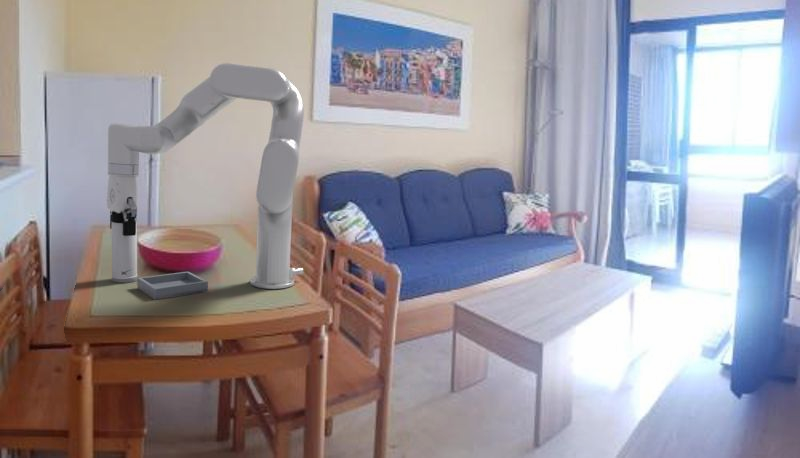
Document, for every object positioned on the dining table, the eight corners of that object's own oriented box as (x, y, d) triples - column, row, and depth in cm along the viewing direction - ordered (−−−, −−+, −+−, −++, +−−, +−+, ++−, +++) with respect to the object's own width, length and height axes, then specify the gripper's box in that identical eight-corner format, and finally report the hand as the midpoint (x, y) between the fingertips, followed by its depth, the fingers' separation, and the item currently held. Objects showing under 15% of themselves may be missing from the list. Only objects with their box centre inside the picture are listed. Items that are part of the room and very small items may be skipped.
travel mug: (128, 284, 154) (127, 212, 150) (107, 281, 155) (105, 209, 151) (143, 278, 160) (142, 209, 156) (122, 276, 161) (121, 207, 157)
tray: (188, 280, 161) (188, 271, 160) (207, 291, 152) (207, 281, 152) (137, 288, 151) (137, 277, 150) (155, 299, 143) (155, 289, 142)
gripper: (97, 166, 155) (97, 227, 158) (120, 173, 143) (119, 239, 146) (126, 166, 160) (125, 225, 163) (150, 174, 149) (148, 237, 151)
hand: (122, 232), depth 155 cm, fingers open, 9 cm apart
